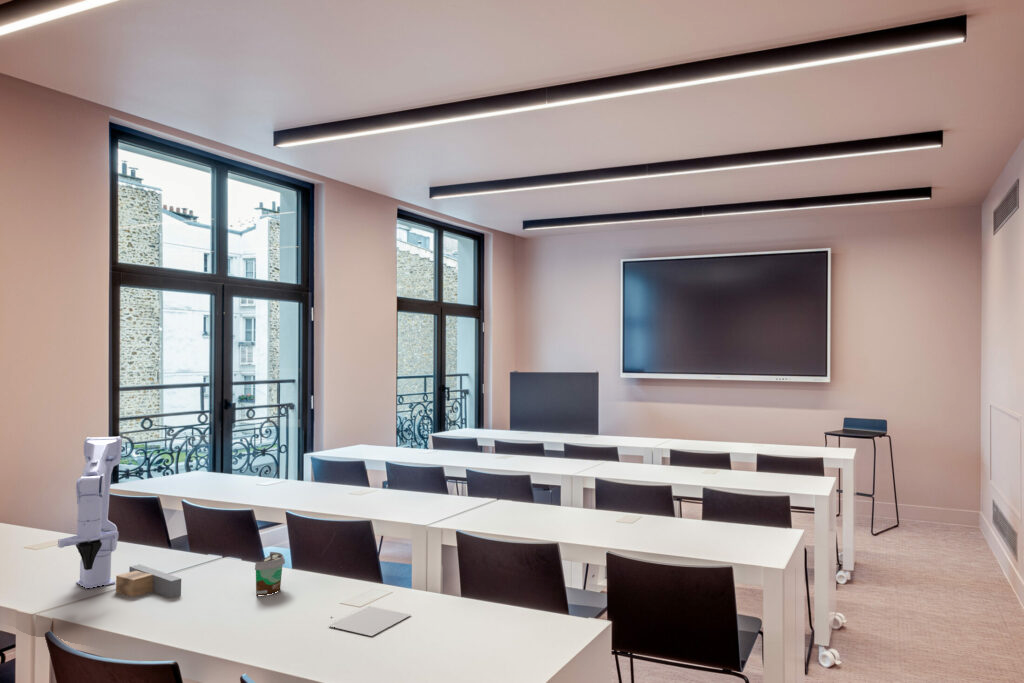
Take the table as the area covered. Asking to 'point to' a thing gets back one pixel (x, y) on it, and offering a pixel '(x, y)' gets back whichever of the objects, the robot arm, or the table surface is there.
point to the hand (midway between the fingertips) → (87, 569)
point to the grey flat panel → (370, 620)
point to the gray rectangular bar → (161, 581)
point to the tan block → (134, 583)
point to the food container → (269, 574)
